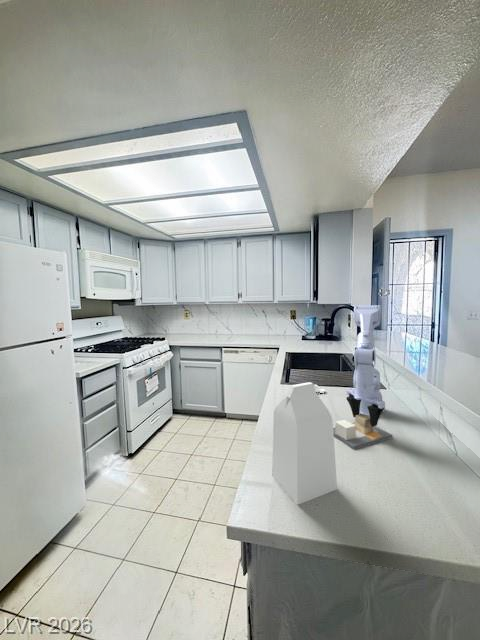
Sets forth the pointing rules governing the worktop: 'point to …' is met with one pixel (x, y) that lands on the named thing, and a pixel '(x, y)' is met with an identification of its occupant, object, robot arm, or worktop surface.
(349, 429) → the cream white cube
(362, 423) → the block
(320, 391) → the teacup and saucer
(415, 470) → the worktop surface
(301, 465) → the milk
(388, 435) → the breaker panel
